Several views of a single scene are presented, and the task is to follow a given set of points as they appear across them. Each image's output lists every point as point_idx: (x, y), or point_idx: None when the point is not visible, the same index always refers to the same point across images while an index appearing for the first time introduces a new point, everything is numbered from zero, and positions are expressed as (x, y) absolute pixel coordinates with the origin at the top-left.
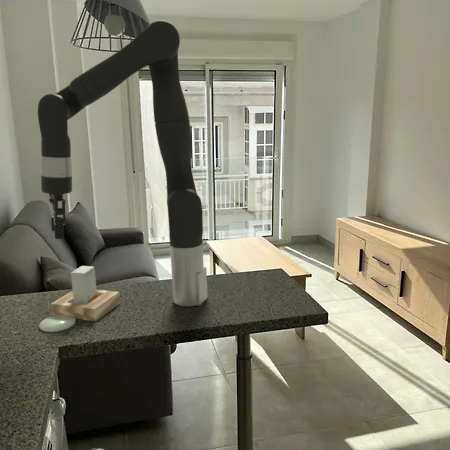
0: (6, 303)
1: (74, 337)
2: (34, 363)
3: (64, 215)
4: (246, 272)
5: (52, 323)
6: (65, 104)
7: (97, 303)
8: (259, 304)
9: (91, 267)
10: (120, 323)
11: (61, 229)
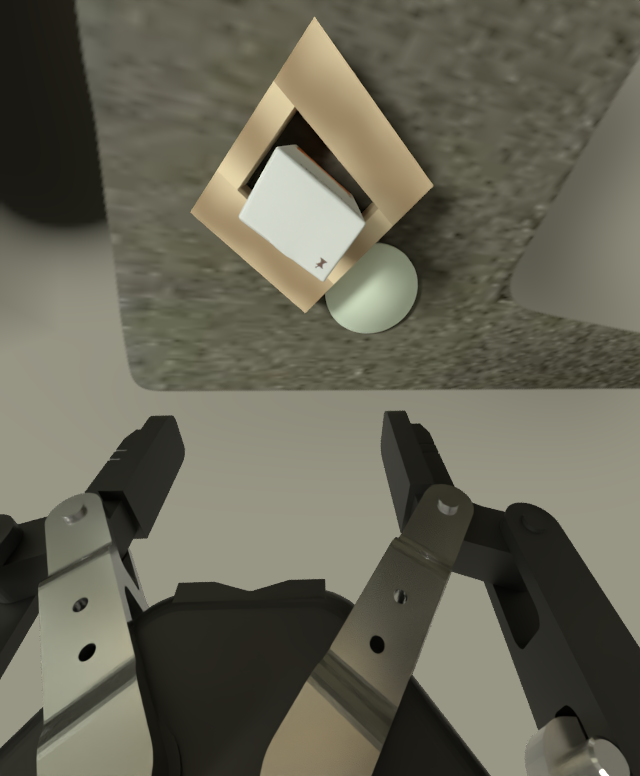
0: (182, 387)
1: (478, 258)
2: (526, 347)
3: (603, 604)
4: None
5: (373, 305)
6: None
7: (389, 163)
8: None
9: (289, 168)
10: (499, 86)
11: (444, 473)
